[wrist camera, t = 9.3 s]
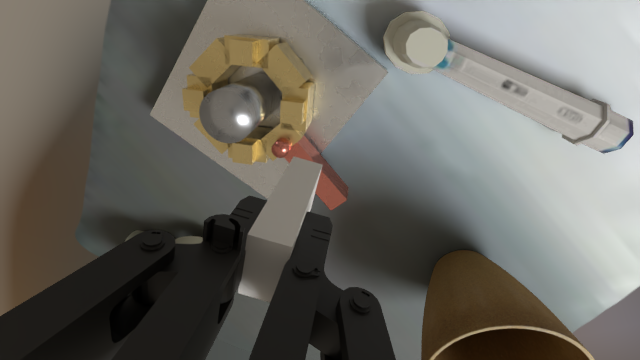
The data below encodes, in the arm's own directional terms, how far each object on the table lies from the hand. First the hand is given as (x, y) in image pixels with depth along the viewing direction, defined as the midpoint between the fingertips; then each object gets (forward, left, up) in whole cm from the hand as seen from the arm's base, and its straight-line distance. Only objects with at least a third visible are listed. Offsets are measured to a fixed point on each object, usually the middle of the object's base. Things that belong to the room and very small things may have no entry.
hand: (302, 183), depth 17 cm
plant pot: (+7, +27, -22) cm, 36 cm away
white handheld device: (-12, +12, -23) cm, 28 cm away
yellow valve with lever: (+5, -3, -19) cm, 20 cm away
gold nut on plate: (+4, -7, -22) cm, 24 cm away
